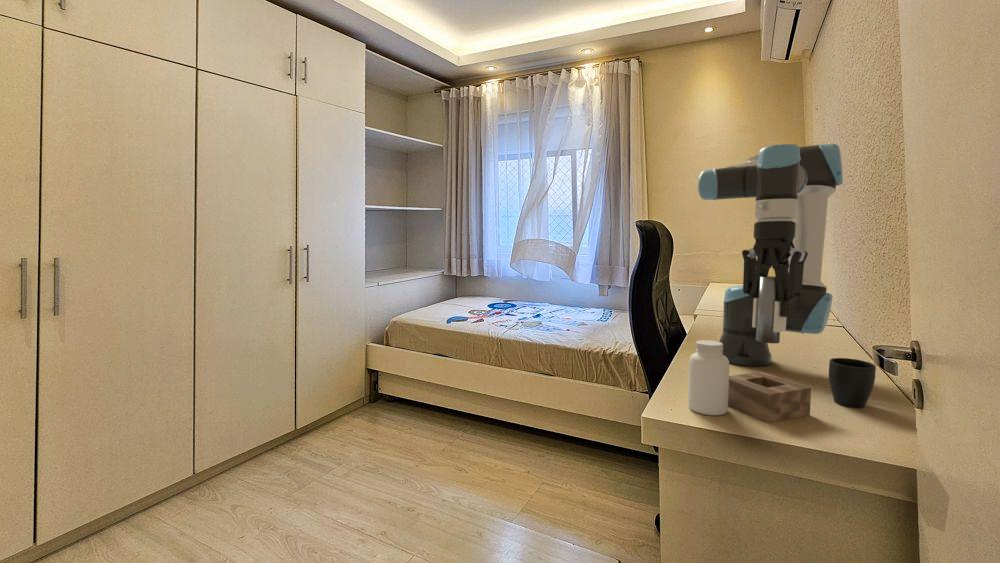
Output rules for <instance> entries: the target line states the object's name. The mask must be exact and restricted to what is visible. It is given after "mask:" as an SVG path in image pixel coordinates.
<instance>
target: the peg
mask: <svg viewBox="0 0 1000 563" xmlns="http://www.w3.org/2000/svg"><path fill="white" fill-rule="evenodd" d="M776 299H779V297H778V291H777V284H776V277H775V275H774V276H773V275H771V276H770V275H768V276H760V277H759V295H758V313H757V331H756V341H759V342H763V343H768V344H780V340H781V332H773V324H774V307H775V301H777V300H776Z"/></svg>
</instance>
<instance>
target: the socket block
mask: <svg viewBox="0 0 1000 563" xmlns="http://www.w3.org/2000/svg"><path fill="white" fill-rule="evenodd" d="M811 401H812V387H811V386H807V385H805V384H801V383H798V382H796V381H792V380H789V379H787V378H784V377H779V376H776V375H773V374H770V373H767V372H764V371H755V372H749V373H748V372H747V373H741V374H734V375H729V390H728V407H730V408H733V409H734V410H737V411H739V412H741V413H744V414H746V415H749V416H751V417H754V418H756V419H758V420H760V421H763V422H765V423H767V424H771V423H775V422H780V421H786V420H791V419H795V418H796V419H797V418H800V417H806V416H810V414H811Z"/></svg>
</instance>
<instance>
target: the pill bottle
mask: <svg viewBox="0 0 1000 563" xmlns="http://www.w3.org/2000/svg"><path fill="white" fill-rule="evenodd" d="M695 351H696V352H693V353H692V354H691V355H690V356H689V362H688V395H687V396H688V397H687V398H688V399H687V401H688V402H687V403H688V404H687V405H688V407H689V409H690V410H692V412H696V413H697V414H701V415H704V416H705V415H706V416H723V415H725V414H726V413H727V412H728V409H729V406H728V390H729V376H730V363H729V360H728V359H727V357H725V356H724V355H722V353H723V344H722V343H721V342H719V341H717V340H708V339H706V340H703V339H702V340H701V339H700V340H697V341H695Z"/></svg>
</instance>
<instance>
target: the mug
mask: <svg viewBox="0 0 1000 563" xmlns="http://www.w3.org/2000/svg"><path fill="white" fill-rule="evenodd" d="M876 367H877V365H876V364H874V363H871V362H869V361H865V360H862V359H861V360H860V359H857V358H848V357H833V358H830V359H829V364H828V379H829V380H828V382H829V386H830V390H831V394H832V398H833V402H834V403H835V404H837V405H840V406H843V407H847V408H853V409H862V408H865V407H866V405H867V402H868V400H869V399H870V396H871V394H872V392H873V389H874V386H875V380H876V372H877V371H876V369H877V368H876Z"/></svg>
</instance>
